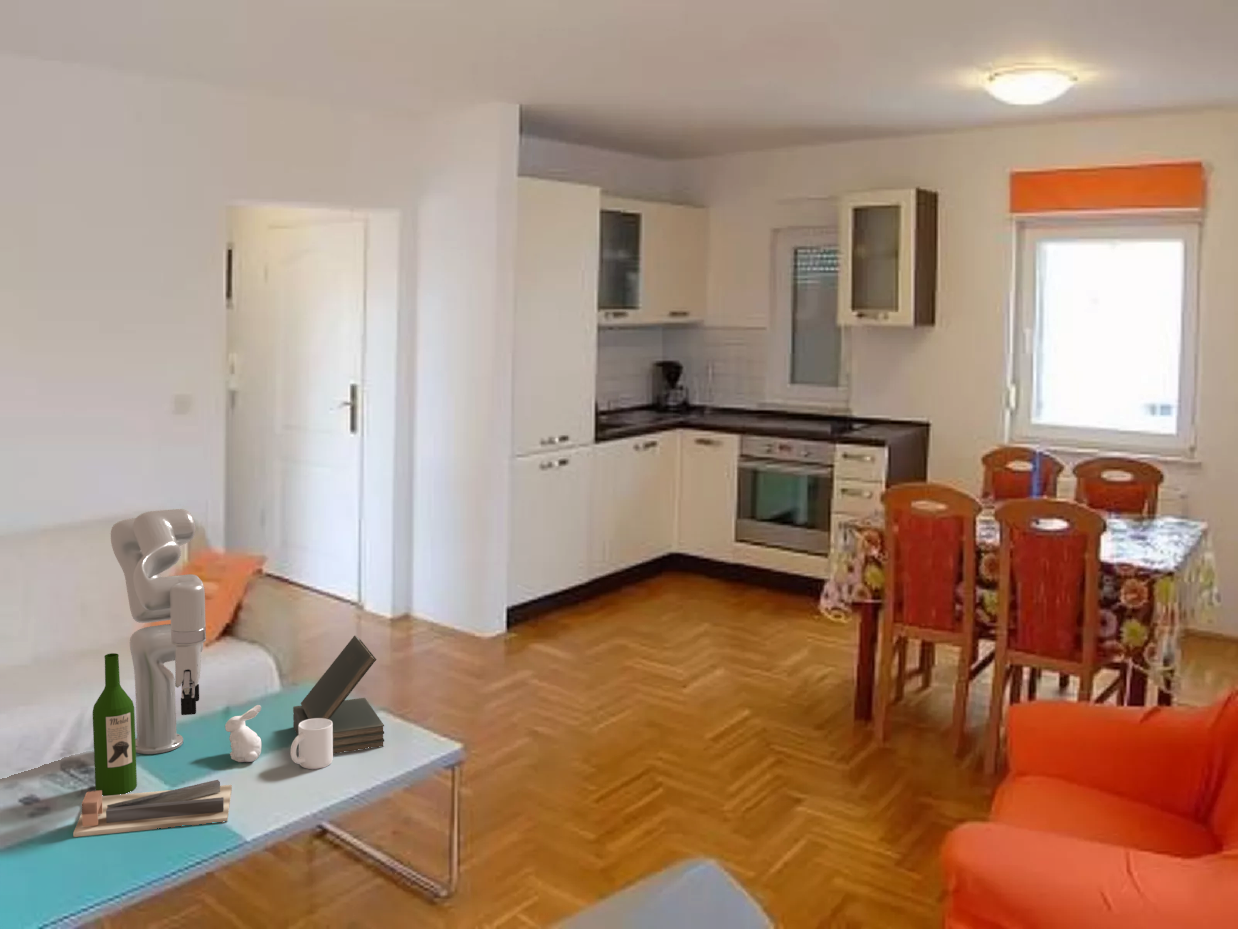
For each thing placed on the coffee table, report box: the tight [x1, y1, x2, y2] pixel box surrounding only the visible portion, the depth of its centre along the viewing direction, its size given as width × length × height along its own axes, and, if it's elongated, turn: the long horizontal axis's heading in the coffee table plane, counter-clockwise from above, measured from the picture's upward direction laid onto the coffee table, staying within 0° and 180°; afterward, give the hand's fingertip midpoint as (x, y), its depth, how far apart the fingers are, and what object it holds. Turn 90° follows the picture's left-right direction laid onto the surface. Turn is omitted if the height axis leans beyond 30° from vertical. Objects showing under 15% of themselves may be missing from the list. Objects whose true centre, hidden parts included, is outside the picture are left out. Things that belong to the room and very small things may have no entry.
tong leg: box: [107, 779, 221, 808], centre depth 249 cm, size 24×2×2 cm, turn 128°
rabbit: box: [224, 704, 262, 763], centre depth 279 cm, size 12×9×12 cm
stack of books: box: [292, 635, 385, 755], centre depth 293 cm, size 23×20×25 cm
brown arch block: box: [81, 790, 103, 827], centre depth 240 cm, size 6×3×5 cm, turn 16°
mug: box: [290, 718, 334, 770], centre depth 275 cm, size 12×8×10 cm
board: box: [72, 784, 233, 838], centre depth 248 cm, size 18×31×4 cm, turn 106°
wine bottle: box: [92, 652, 138, 796], centre depth 257 cm, size 9×9×32 cm
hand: (190, 707), depth 258 cm, fingers open, 8 cm apart
